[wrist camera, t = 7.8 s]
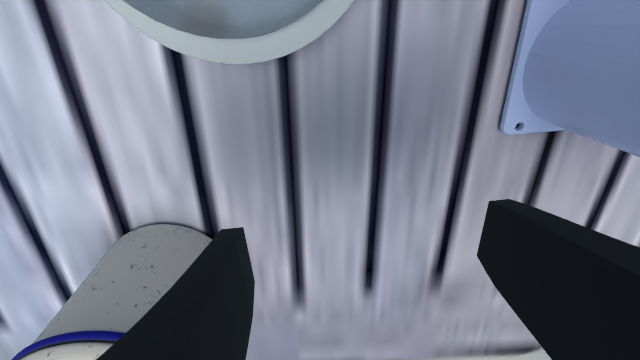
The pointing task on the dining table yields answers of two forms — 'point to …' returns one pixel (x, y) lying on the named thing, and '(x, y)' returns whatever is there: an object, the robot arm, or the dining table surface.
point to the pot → (242, 48)
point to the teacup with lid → (118, 292)
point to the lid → (225, 15)
